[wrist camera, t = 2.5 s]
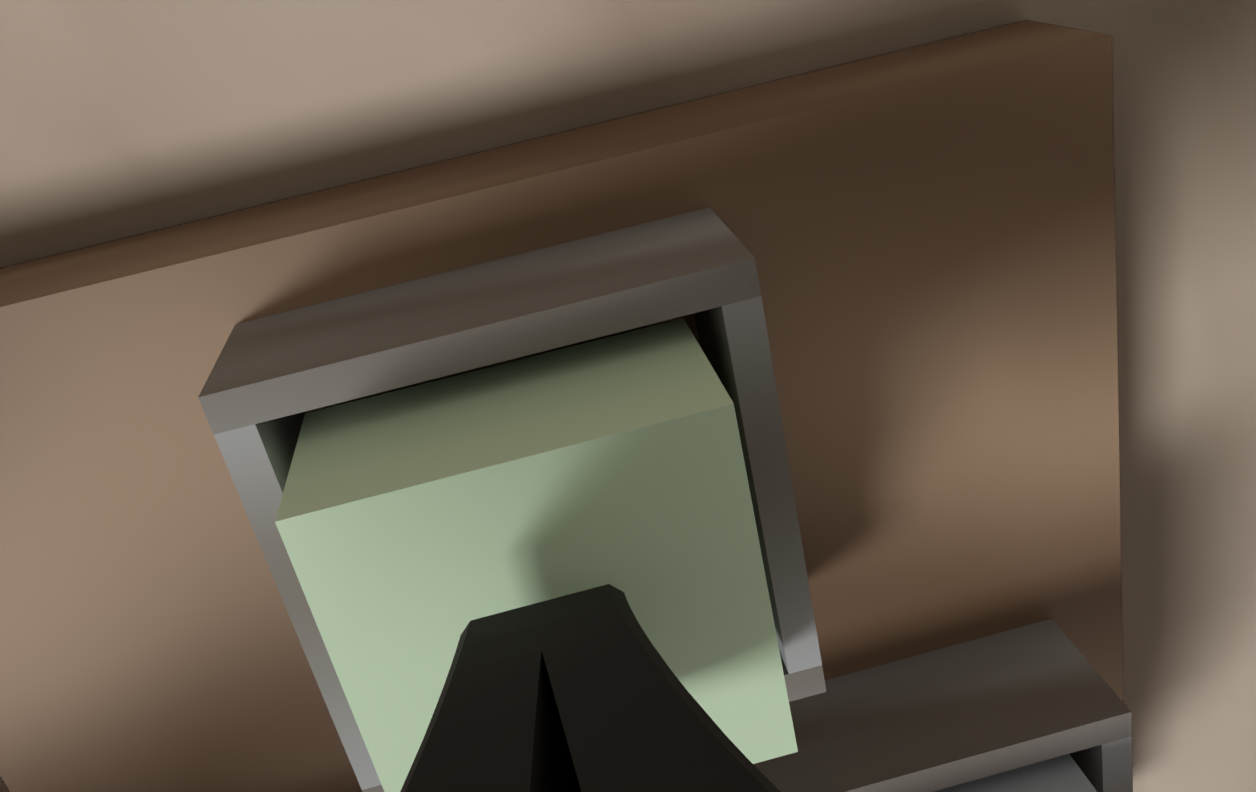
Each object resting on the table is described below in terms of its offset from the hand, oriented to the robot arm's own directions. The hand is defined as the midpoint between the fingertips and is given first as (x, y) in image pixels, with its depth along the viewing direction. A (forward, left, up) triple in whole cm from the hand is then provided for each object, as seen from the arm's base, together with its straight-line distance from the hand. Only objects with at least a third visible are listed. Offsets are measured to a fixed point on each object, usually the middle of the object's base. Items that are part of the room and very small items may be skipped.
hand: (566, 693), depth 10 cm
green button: (0, 0, -3) cm, 3 cm away
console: (-4, 0, -6) cm, 7 cm away
